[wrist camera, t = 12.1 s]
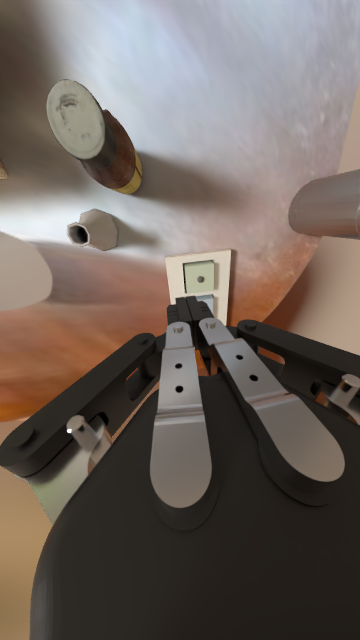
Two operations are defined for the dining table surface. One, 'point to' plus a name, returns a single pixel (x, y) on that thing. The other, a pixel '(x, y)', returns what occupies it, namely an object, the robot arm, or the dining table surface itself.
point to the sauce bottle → (93, 137)
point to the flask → (94, 230)
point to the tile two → (207, 300)
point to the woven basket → (3, 172)
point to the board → (220, 278)
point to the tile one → (199, 276)
